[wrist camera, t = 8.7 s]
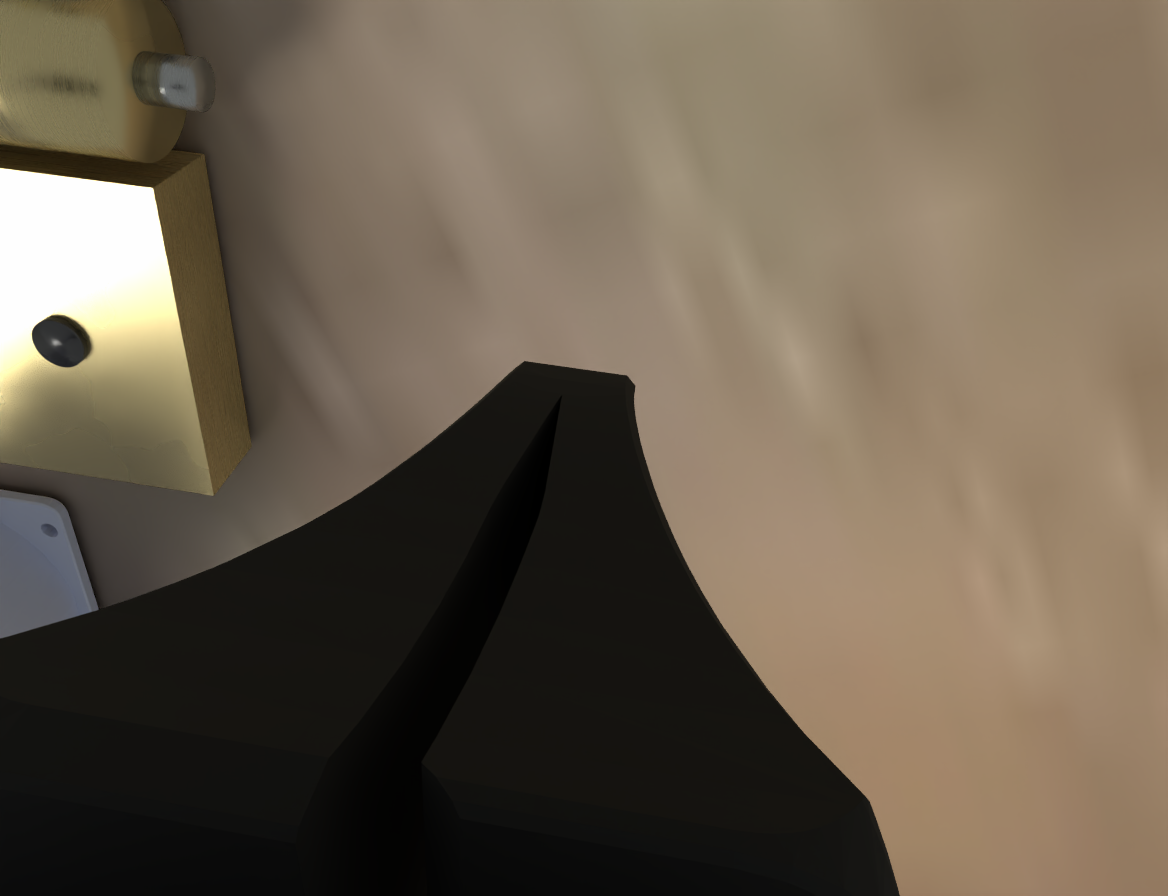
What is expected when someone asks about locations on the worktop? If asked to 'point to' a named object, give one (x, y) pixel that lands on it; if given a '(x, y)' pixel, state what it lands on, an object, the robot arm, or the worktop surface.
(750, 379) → the worktop surface
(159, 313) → the brass plate
